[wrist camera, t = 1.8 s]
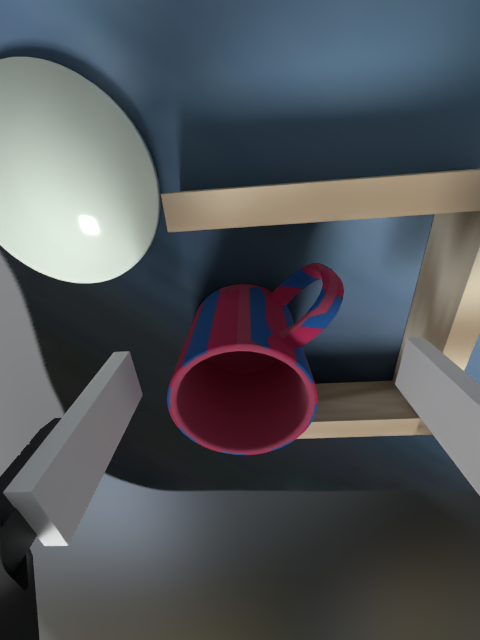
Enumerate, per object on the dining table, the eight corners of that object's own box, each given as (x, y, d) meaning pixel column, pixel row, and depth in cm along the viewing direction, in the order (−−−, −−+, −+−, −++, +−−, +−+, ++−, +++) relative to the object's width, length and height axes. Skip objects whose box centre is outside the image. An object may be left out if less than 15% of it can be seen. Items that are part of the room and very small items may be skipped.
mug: (173, 332, 18) (137, 409, 12) (281, 217, 14) (307, 242, 8) (245, 384, 20) (245, 473, 14) (355, 294, 16) (419, 360, 10)
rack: (179, 191, 14) (160, 194, 11) (476, 168, 13) (547, 165, 10) (212, 402, 21) (207, 441, 18) (408, 395, 20) (438, 434, 17)
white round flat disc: (-85, 73, 12) (-100, 68, 11) (134, 51, 11) (129, 44, 11) (17, 284, 16) (10, 288, 16) (176, 275, 16) (173, 278, 15)
